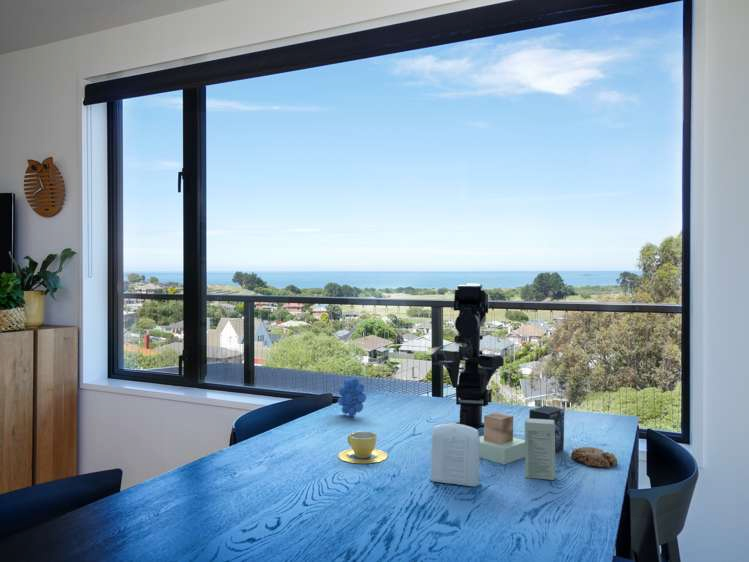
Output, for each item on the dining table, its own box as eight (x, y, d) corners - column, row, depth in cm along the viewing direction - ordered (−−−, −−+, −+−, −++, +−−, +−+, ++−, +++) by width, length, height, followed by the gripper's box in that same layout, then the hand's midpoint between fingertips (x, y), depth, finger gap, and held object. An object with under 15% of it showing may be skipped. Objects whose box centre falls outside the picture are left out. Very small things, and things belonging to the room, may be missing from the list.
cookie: (577, 453, 150) (577, 441, 150) (622, 461, 144) (622, 449, 144) (564, 463, 142) (564, 450, 142) (611, 472, 136) (611, 459, 135)
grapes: (375, 417, 183) (375, 378, 183) (359, 421, 179) (359, 380, 178) (349, 410, 192) (349, 373, 191) (333, 414, 187) (333, 375, 187)
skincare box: (555, 474, 133) (556, 419, 133) (554, 481, 129) (555, 424, 128) (525, 471, 135) (526, 417, 135) (523, 477, 131) (524, 421, 131)
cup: (397, 457, 145) (398, 435, 145) (363, 468, 136) (363, 445, 136) (362, 447, 153) (362, 425, 153) (327, 457, 144) (327, 434, 144)
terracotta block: (495, 436, 150) (495, 412, 150) (512, 440, 147) (513, 416, 147) (483, 440, 147) (484, 415, 147) (501, 444, 143) (501, 419, 143)
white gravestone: (480, 481, 128) (481, 423, 128) (477, 488, 124) (478, 428, 123) (432, 476, 131) (433, 419, 131) (428, 482, 127) (429, 424, 127)
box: (548, 456, 146) (549, 413, 146) (527, 451, 150) (528, 409, 150) (564, 450, 151) (565, 408, 151) (544, 445, 155) (545, 404, 155)
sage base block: (493, 448, 154) (493, 432, 154) (527, 457, 147) (528, 440, 146) (469, 456, 147) (469, 439, 147) (504, 466, 140) (504, 448, 140)
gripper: (422, 330, 162) (421, 388, 162) (479, 336, 148) (478, 399, 148) (449, 328, 169) (448, 383, 170) (505, 334, 156) (504, 394, 156)
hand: (468, 390), depth 161 cm, fingers open, 9 cm apart
